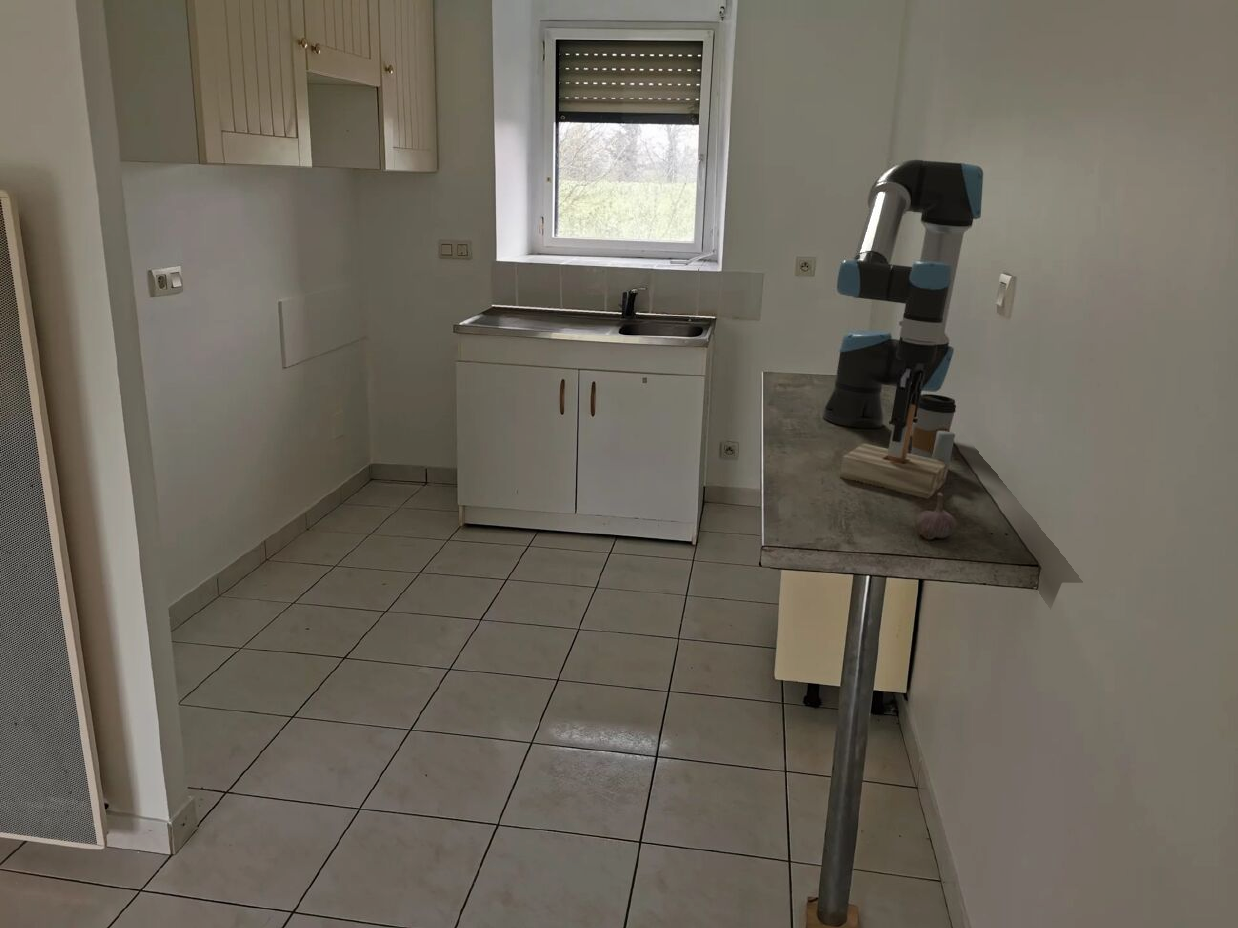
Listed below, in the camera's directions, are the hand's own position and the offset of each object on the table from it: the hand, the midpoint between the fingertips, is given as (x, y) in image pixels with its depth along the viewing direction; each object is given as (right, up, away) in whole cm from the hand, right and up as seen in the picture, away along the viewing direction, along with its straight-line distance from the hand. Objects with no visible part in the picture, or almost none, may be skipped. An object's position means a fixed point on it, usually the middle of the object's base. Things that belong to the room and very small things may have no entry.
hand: (897, 454), depth 196 cm
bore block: (0, -5, +2) cm, 6 cm away
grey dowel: (+10, -5, +6) cm, 13 cm away
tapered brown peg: (0, -3, +1) cm, 3 cm away
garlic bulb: (-2, -15, -29) cm, 32 cm away
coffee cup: (+11, -2, +17) cm, 20 cm away
